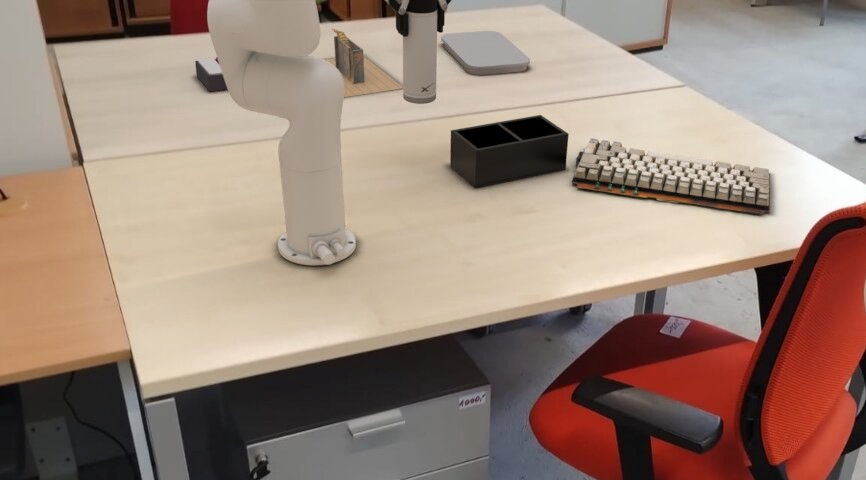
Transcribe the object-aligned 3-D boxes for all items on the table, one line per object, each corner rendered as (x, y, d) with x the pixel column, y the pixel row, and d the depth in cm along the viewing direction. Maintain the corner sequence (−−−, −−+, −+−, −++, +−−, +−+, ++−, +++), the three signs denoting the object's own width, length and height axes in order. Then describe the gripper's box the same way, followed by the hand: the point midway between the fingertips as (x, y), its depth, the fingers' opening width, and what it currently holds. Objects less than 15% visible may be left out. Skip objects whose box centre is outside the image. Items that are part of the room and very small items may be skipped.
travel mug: (433, 106, 176) (434, -4, 165) (399, 102, 177) (398, -8, 166) (441, 95, 182) (443, -13, 170) (408, 91, 182) (407, -17, 171)
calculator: (274, 67, 214) (207, 72, 207) (275, 85, 216) (209, 91, 209) (259, 52, 222) (194, 57, 215) (260, 70, 224) (196, 75, 217)
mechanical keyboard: (769, 174, 187) (773, 158, 185) (770, 218, 172) (773, 201, 170) (581, 150, 193) (583, 134, 191) (565, 190, 178) (567, 174, 176)
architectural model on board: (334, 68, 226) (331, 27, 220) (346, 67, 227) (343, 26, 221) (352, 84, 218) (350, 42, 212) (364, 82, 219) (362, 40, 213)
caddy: (565, 169, 184) (568, 133, 180) (475, 188, 176) (476, 150, 172) (538, 149, 192) (540, 114, 187) (450, 166, 183) (450, 130, 179)
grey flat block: (496, 38, 250) (497, 30, 249) (533, 71, 230) (534, 62, 229) (438, 43, 245) (438, 34, 244) (470, 76, 225) (470, 67, 224)
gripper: (382, -65, 156) (385, 44, 166) (474, -71, 163) (471, 33, 174) (364, -74, 161) (368, 32, 171) (454, -80, 169) (453, 22, 179)
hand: (420, 31), depth 172 cm, fingers closed on travel mug, 6 cm apart
